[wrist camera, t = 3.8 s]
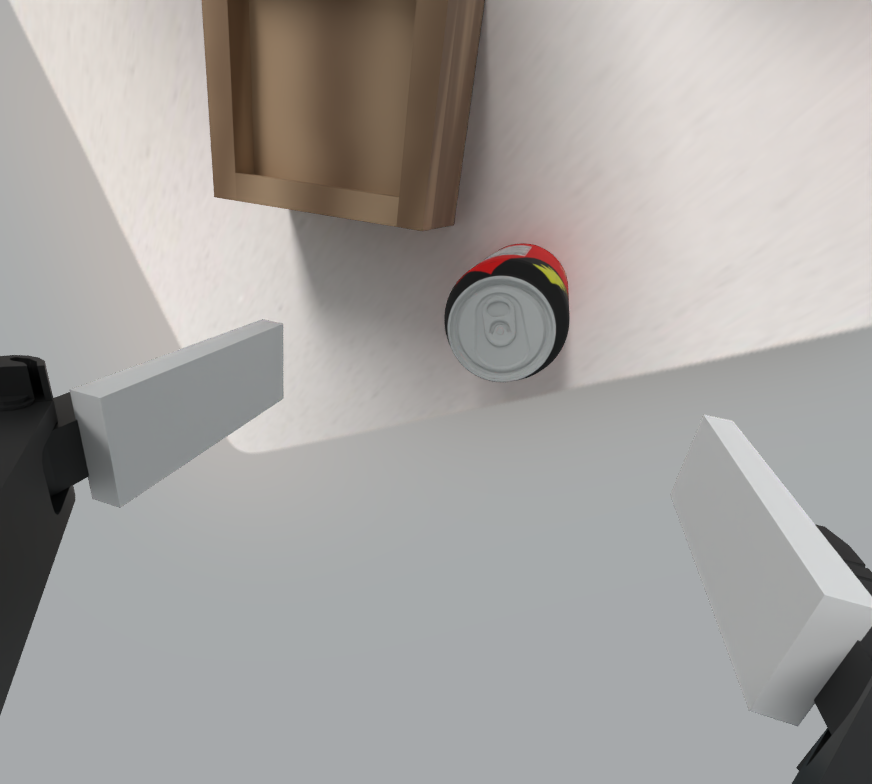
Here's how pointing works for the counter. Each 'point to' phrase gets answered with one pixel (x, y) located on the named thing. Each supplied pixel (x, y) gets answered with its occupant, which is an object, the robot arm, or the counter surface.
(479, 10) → the brown open box
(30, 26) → the counter surface
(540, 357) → the beverage can
